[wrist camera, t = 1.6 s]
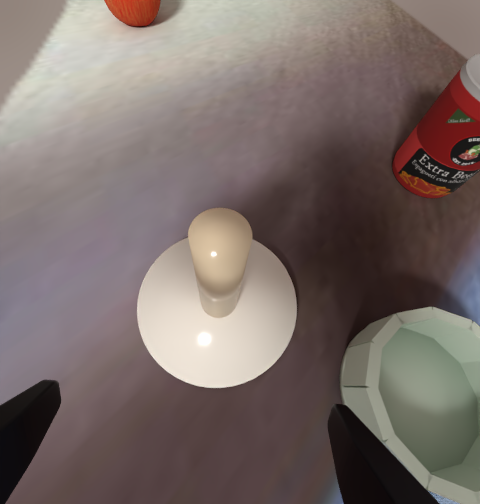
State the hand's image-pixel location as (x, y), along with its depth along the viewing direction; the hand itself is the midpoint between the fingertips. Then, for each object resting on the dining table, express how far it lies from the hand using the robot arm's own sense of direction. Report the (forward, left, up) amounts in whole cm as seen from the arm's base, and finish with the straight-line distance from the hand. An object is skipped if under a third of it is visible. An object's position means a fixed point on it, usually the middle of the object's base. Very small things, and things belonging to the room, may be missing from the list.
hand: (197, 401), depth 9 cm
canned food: (+33, +2, -13) cm, 35 cm away
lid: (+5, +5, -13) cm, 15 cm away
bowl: (+12, -10, -13) cm, 20 cm away
